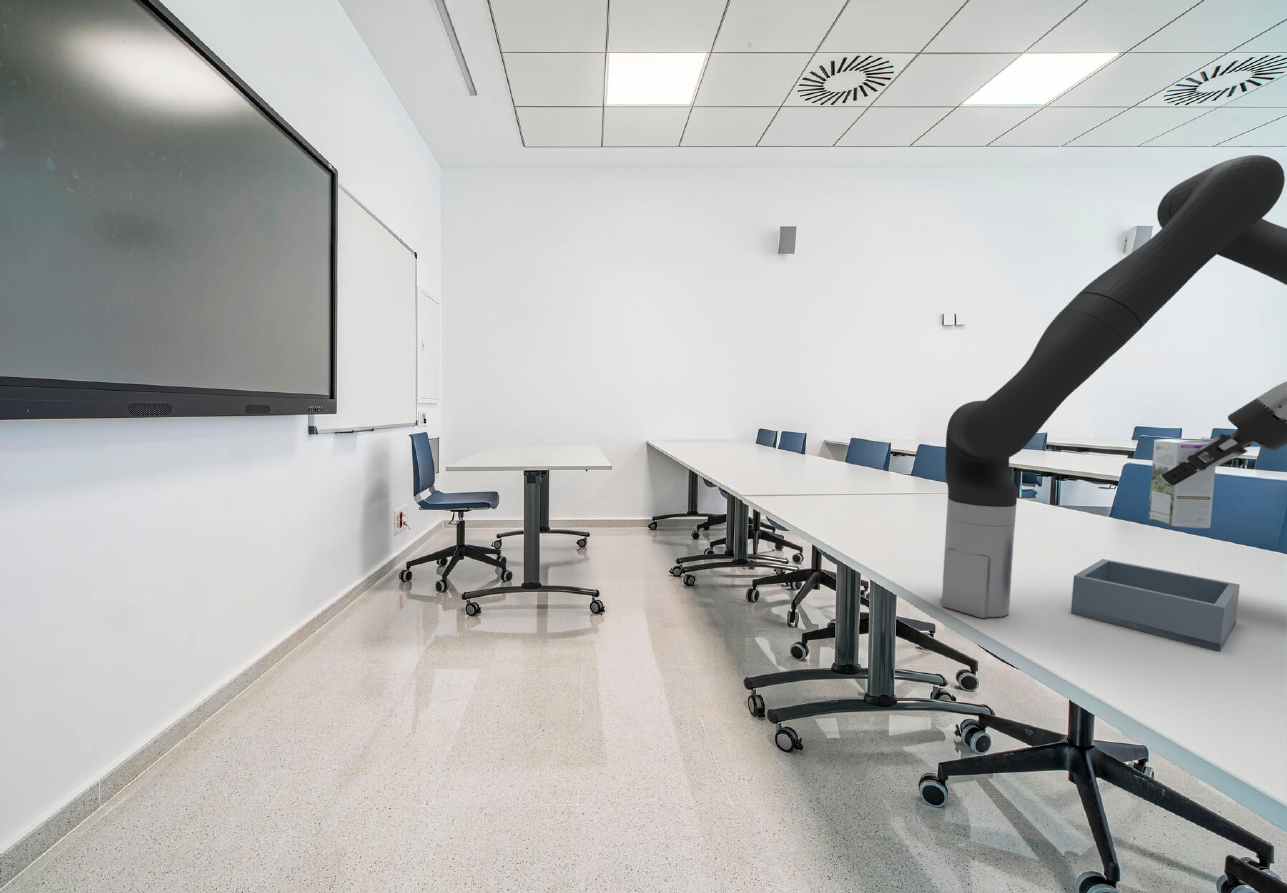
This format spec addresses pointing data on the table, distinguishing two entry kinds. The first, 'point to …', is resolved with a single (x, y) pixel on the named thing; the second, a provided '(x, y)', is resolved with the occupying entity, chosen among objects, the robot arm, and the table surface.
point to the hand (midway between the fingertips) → (1172, 479)
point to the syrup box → (1180, 487)
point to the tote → (1157, 602)
